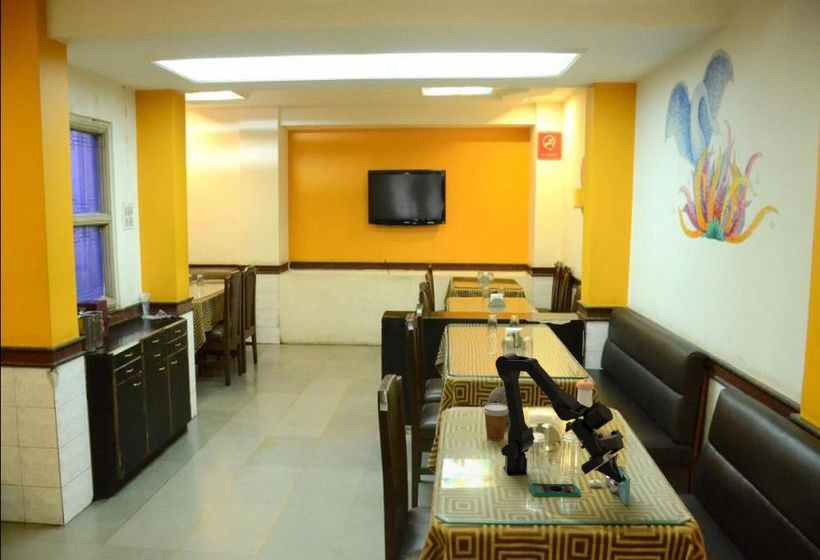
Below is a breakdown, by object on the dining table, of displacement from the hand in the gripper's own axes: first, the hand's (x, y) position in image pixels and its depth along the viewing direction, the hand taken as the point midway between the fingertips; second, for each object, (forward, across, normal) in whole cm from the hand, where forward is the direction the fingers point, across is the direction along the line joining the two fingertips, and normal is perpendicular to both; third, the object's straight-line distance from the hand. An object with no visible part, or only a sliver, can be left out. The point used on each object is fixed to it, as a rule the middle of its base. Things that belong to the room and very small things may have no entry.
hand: (621, 482), depth 195 cm
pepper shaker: (-21, +57, +33) cm, 69 cm away
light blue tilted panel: (+4, +3, +5) cm, 7 cm away
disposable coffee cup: (-35, +23, +48) cm, 63 cm away
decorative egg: (-40, +39, +53) cm, 76 cm away
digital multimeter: (-7, -6, +18) cm, 21 cm away
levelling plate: (+2, +4, +8) cm, 9 cm away
